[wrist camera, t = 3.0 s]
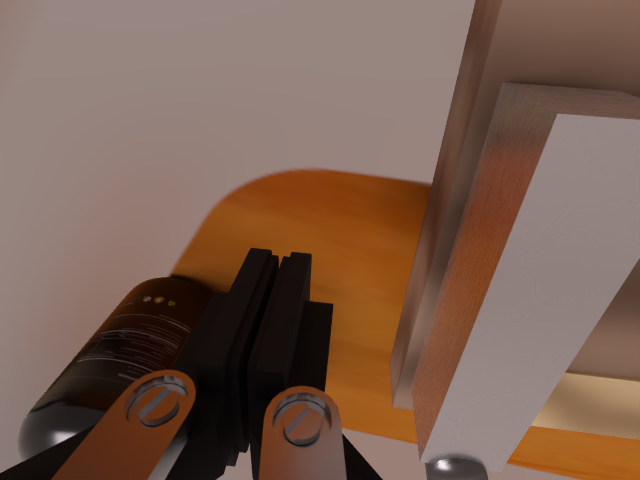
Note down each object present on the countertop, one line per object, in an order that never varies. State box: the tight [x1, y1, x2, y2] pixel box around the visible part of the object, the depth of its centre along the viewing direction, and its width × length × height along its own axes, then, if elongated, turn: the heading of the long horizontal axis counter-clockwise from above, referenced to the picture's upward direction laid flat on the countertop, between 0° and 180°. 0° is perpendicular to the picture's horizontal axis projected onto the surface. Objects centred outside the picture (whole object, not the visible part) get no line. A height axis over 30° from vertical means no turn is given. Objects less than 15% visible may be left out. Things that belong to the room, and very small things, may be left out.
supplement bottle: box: [18, 277, 214, 462], centre depth 18 cm, size 7×7×12 cm
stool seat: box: [390, 0, 640, 440], centre depth 15 cm, size 20×16×3 cm
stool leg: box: [411, 83, 640, 480], centre depth 13 cm, size 16×3×4 cm, turn 177°
